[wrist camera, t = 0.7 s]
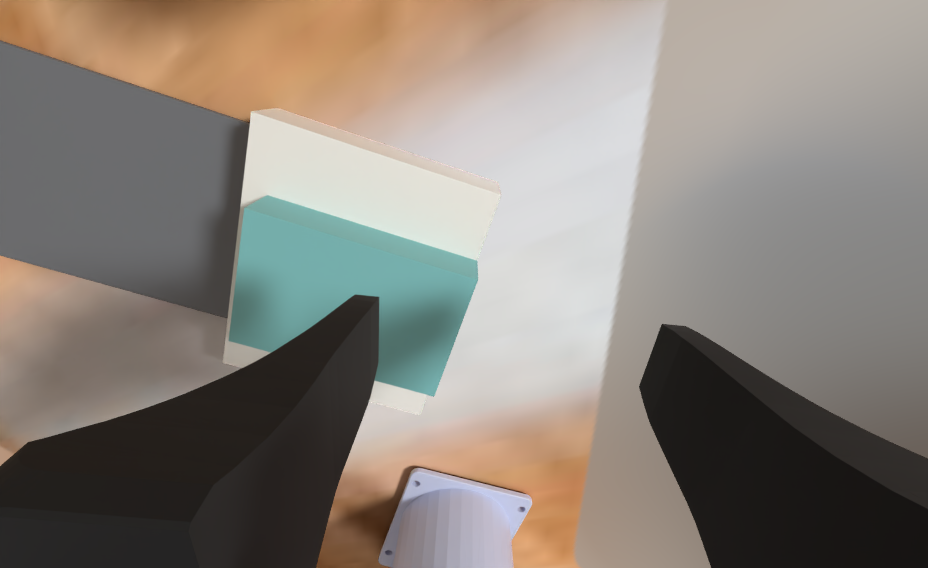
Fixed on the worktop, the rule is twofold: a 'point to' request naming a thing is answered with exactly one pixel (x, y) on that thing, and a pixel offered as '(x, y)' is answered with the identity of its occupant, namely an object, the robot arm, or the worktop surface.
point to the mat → (118, 182)
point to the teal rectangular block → (349, 287)
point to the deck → (361, 200)
